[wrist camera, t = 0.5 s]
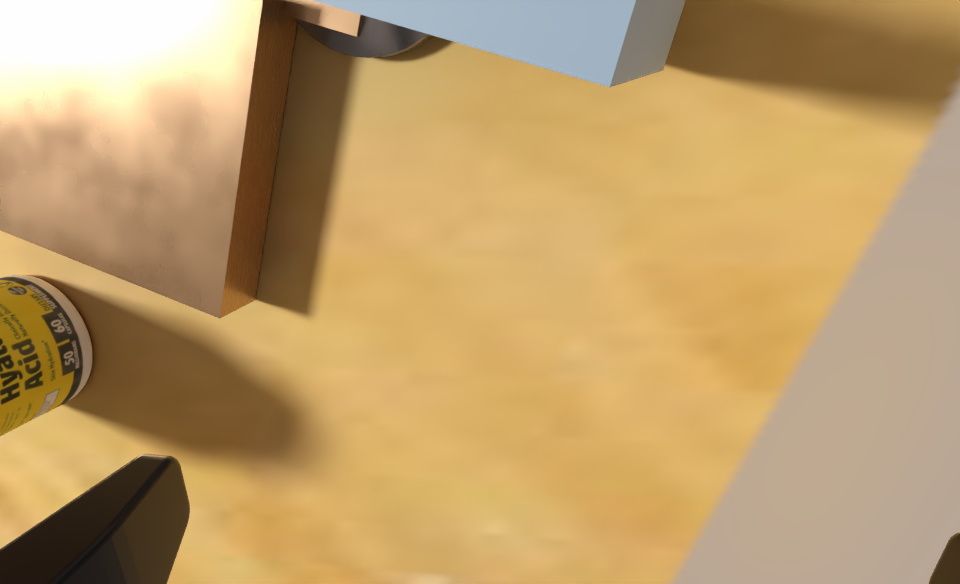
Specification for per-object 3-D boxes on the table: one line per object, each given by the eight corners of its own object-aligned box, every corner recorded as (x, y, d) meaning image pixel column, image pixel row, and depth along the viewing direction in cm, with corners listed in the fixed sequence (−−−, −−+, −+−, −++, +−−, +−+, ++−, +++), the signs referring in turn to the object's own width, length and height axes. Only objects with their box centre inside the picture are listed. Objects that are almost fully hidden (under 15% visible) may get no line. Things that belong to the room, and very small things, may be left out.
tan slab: (384, 350, 26) (266, 448, 20) (25, 210, 30) (-174, 256, 23) (495, -146, 21) (381, -227, 15) (40, -253, 24) (-216, -356, 18)
